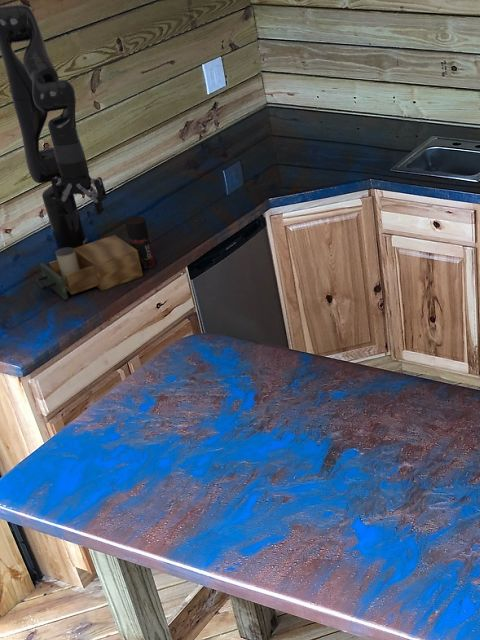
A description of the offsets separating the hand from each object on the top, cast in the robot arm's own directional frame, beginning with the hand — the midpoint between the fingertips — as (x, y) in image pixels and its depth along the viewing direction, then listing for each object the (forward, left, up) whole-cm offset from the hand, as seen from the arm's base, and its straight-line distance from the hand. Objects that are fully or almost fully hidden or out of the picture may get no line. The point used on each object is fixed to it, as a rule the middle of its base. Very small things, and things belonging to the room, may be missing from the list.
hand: (85, 213), depth 259 cm
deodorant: (-9, +17, -26) cm, 32 cm away
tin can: (-10, -5, -23) cm, 26 cm away
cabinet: (-10, +6, -25) cm, 28 cm away
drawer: (-10, -7, -24) cm, 27 cm away
